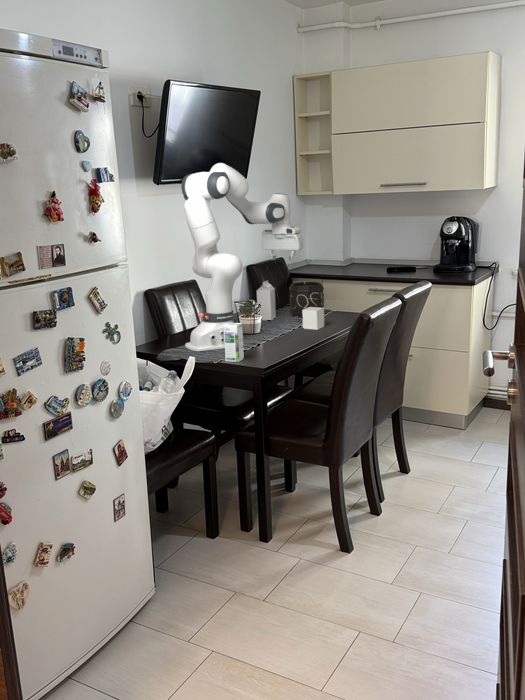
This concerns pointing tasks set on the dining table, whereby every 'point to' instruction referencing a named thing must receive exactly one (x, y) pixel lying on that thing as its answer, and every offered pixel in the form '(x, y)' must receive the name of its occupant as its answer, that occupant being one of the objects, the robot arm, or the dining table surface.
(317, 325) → the white block
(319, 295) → the chalk-scribbled black cube
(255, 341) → the dining table surface
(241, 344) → the syrup box
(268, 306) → the milk carton
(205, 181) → the robot arm
